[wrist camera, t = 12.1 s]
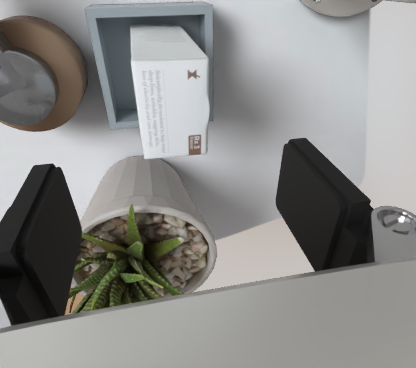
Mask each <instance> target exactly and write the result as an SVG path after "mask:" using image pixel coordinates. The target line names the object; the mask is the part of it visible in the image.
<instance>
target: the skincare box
mask: <svg viewBox="0 0 416 368" xmlns="http://www.w3.org/2000/svg"><path fill="white" fill-rule="evenodd" d="M130 35H131V56H132V57H131V68H132V75H133V82H134V90H135V97H136V104H137V112H138V119H139V126H140V133H141V140H142V147H143V153H144V159H155V158H166V157H177V156H188V155H200V154H206V153H207V144H208V121H209V114H210V104H209V58H208V57H207V56H206V55H205V53H204V52H203V51H202V50H201V49H200V48H199V47H198V45H197V44H196V43H195V42H194V41H193V40H192V39H191V38H190V36H189V35H188V34H187V33H186V32H185V31H184V30H183V29H182V27H181V26H180V25H179V24H135V25H131V27H130Z"/></svg>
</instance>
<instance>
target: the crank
mask: <svg viewBox="0 0 416 368" xmlns="http://www.w3.org/2000/svg"><path fill="white" fill-rule="evenodd" d="M58 97H59V83H58V80H57V77H56V75H55V73H54V71H53V70H52V68H51V67H50V66H49V65H48V64H47V63H46V62H45V61H44V60H43V59H42V58H41V57H39V56H38V55H36V54H35V53H33V52H31V51H28V50H26V49H22V48H18V47H13V46H12V44H11V43H10V42H9V40H8V39H7V38H6V36H5V35H4V34H3V32H2V31H1V29H0V121H3V122H5V123H8V124H12V125H18V126H27V125H33V124H36V123H38V122H40V121H42V120H43V119H45V118H46V117H47V116H48V114H49V113H50V111H51V110H52V108H53V107H54V105H55V104H56V102H57V100H58Z"/></svg>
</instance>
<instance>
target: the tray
mask: <svg viewBox="0 0 416 368" xmlns="http://www.w3.org/2000/svg"><path fill="white" fill-rule="evenodd" d="M85 14H86V18H87V23H88V28H89V32H90V37H91V41H92V46H93V51H94V55H95V60H96V65H97V69H98V74H99V79H100V83H101V88H102V93H103V97H104V102H105V107H106V111H107V116H108V120H109V125H110V130H112V129H124V128H135V127H140V126H139V119H138V112H137V104H136V97H135V90H134V82H133V75H132V68H131V57H132V56H131V35H130V27H131V25H135V24H179V25H180V26H181V27H182V29H183V30H184V31H185V32H186V33H187V34H188V35H189V36H190V38H191V39H192V40H193V41H194V42H195V43H196V44H197V45H198V47H199V48H200V49H201V50H202V51H203V52H204V53H205V55H206V56H207V57H208V58H209V104H210V114H209V121H213V5H212V4H209V3H206V2H176V3H139V4H103V5H90V6H88V7H86V8H85Z"/></svg>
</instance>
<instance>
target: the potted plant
mask: <svg viewBox="0 0 416 368" xmlns="http://www.w3.org/2000/svg"><path fill="white" fill-rule="evenodd" d="M80 223H81V227H82V237H81V242H80V246H79V251H78V256H77V260H76V265H75V269H74V274H73V279H72V283H71V286H72V287H73V288H71V289H70V292H69V297H68V299H69V298H71V297H72V296H73V299H72V302H71V305H70V313H71V309H72V305H73V302H74V299H75V296H76V294H77V293H79V294H80V295H82V296H84V298H83V299H82V301H81V302H80V303H79V305H78V306H77V307H76V309H75V310H74V311H73V313H72V314H75V313H80V311H81V310H82V309H83V310H82V311H81V312H86V311H91V310H97V309H103V308H108V307H114V306H119V305H125V304H131V303H136V302H142V301H147V300H153V299H159V298H164V297H170V296H176V295H181V294H187V293H192V292H193V291H194V290H196V289H197V288H198V287H200V286H201V285H202V284H203V283H204V282H205V280H206V279H207V278H208V277H209V275H210V273H211V272H212V270H213V269H214V265H215V261H216V257H217V249H216V244H215V241H214V238H213V235H212V234H211V232H210V230H209V228H208V226H207V224H206V222H205V221H204V220H203V218H202V217H201V216H200V215H199V213H198V211H197V209H196V207H195V205H194V203H193V202H192V200H191V198H190V196H189V194H188V192H187V190H186V188H185V186H184V185H183V183H182V181H181V179H180V177H179V176H178V174H177V173H176V171H175V170H174V169H173V168H172V167H171V166H170V165H169V164H167V163H166V162H164V161H163V160H161V159H158V158H155V159H144V156H134V157H128V158H126V159H123V160H121V161H119V162H117V163H116V164H114V165H113V166H112V167H111V168H110V169H109V170H108V171H107V173H106V174H105V176H104V177H103V179H102V180H101V182H100V184H99V186H98V188H97V190H96V192H95V194H94V195H93V197H92V199H91V201H90V203H89V205H88V207H87V209H86V211H85V213H84V215H83V217H82V219H81V221H80Z"/></svg>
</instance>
